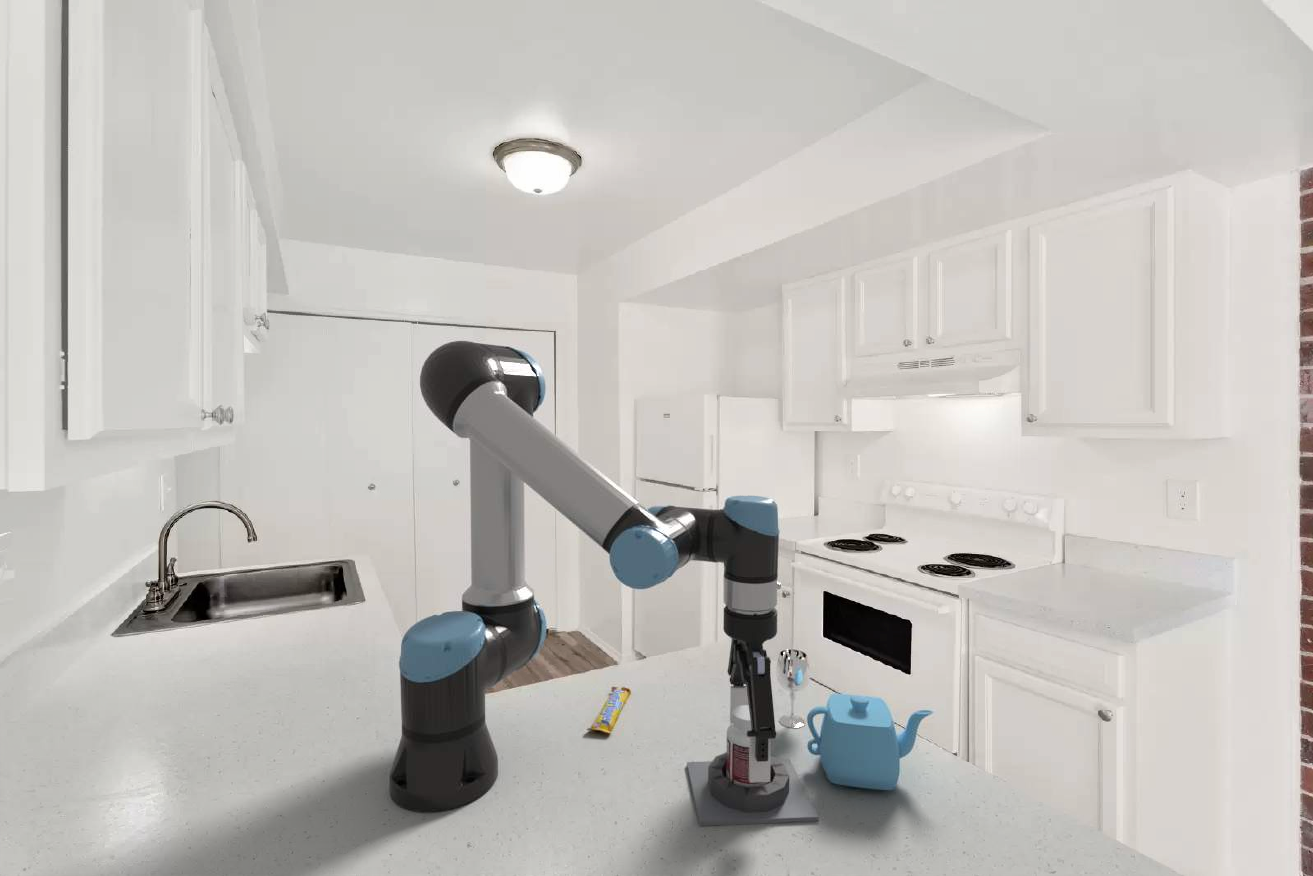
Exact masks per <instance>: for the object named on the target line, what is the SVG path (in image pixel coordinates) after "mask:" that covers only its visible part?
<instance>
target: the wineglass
mask: <svg viewBox="0 0 1313 876" xmlns="http://www.w3.org/2000/svg"><path fill="white" fill-rule="evenodd" d="M776 662H777V663H776V667H775V674H776V681H777V683H778V684H779V686H780V688H782V689H783V690H785V691H788V692H790V693H789V700H790V714H785V715H782V716H780V717H779V723H780V724H781V725H782V726H784V727H786V728H790V729H800V728H802V727H804V726H805V725H806V720H805V718H804V719H803V717H800V716H799V715H795V713H794V712H795V708H794V705H795V700H796V692H797V693H798V692H801V691H804V690H805V689H806V688H807V687H808V685H809V684H810V677H811V670H810V664H809V659H808V655H807V654H806V653H805V652H804V651H802V650H799V649H789V648H788V649H783V650H780V652H779V654H778V657H777V661H776Z"/></svg>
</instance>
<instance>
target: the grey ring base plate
mask: <svg viewBox="0 0 1313 876" xmlns="http://www.w3.org/2000/svg"><path fill="white" fill-rule="evenodd" d="M726 759H727V751H726V752H724V753H722V754H719V755H715V757H713V760H710V761H708V760H707V761H687V762H686V768H687V773H688V777H689V782H690V786H691V792H692V797H693V802H694V806H695V807H694V808H695V810H696V817H697V821H698V825H699V827H706V826H707V827H708V826H730V825H731V826H732V825H737V826H738V825H757V824H758V825H759V824H779V823H781V824H782V823H802V822H803V823H804V822H819V815H818V812H817V810H816V809H815V806H814V804H813V802H812V800H811V799H810V797H809V795H808V793H807V790H806V789H805V787H804V785H803V783H802V781H801V779H800V777H799V775H798V773H797V771H796V768H795V767H794V765H793V763H792V761H791V759H790V758H775V757H774V756H772V755H771V766H770V783H768V784H766V785H764V786H762V787H744V786H741V785H737V784H734V783H732V782H731V781H729V780H728V779H727V778H726V761H727V760H726Z"/></svg>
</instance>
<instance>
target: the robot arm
mask: <svg viewBox="0 0 1313 876" xmlns="http://www.w3.org/2000/svg"><path fill="white" fill-rule="evenodd" d="M419 387H420V388H419V389H420V392H421V396H422V398H423V401H424V403H425V404H426V406H427V407H428V409H429V410H430V411H431V413H432V414H433V415H434V416H435V417H436V418H437V419H438V421H440V422H441V423H442V424H443V425H444V426H446V427H447V429H449V430H450V431H451V432H452V433H453V434H455V435H456V436H457V437H459V438H461V439H469V459H470V461H469V465H470V466H469V469H470V471H469V473H470V475H469V476H470V478H469V479H470V482H469V483H470V486H469V487H470V563H471V564H470V568H471V573H470V574H471V585H470V586H469V587H468V588H467V589H466V590H465V591H464V592H463V593H462V595H461V610H456V611H455V610H452V611H444V612H442V613H441V614H432V615H431V616H428V617H425V618H423V619H421V620H419V621H417V622H416V623H415V624H413V625H412V626H410V627H409V629H408V630H406V632H405V634H404V635H403V637H402V639H401V643H400V655H399V662H398V667H399V668H398V669H399V677H400V678H399V679H400V707H401V709H400V710H401V711H400V712H401V737H400V740H399V743H398V747H397V749H396V753H395V756H394V760H393V762H392V764H391V769H390V772H389V778H388V779H389V795H390V798H391V799H392V801H393V802H395V804H396V805H398V806H399V807H400V808H401V807H402V808H403V809H407V810H411V811H415V812H441V811H446V810H451V809H454V808H455V809H456V808H458V807H461V806H464V805H466V804H469V803H471V802H473V801H475V800H477V799H478V798H480V797H482V796H483V795H484V794H486V793H487V792H488V791H489V790H490V789H491V788H492V787H493V786H494V785H495V782H496V781H497V779H498V775H499V761H498V753H497V750H496V747H495V745H494V741H493V740H492V737H491V734H490V731H489V729H488V726H487V722H486V693H487V691H488V690H489V689H491V688H492V687H494V686H495V685H496V684H498V683H499V682H501V681H502V680H504V679H506V677H508V676H509V675H511V674H513V672H517V671H518V670H520V669H522V668H523V667H524V666H525V667H526V665H527V664H528V663H530V661H531V660H532V659H533V658H534V657H535V656H536V655H537V654H538V653H539V651H541V649H542V647H543V645H544V642H545V639H546V636H547V629H548V628H547V626H548V625H547V619H546V615H545V612H544V609H543V608H541V607H539V602H538V601H537V600H536V599H535V590H534V589H533V588H532V587H531V586H530V585H529V584H528V583H527V582H526V580H525V579H526V577H525V574H526V573H525V569H526V568H525V564H526V563H525V561H526V559H525V553H526V552H525V484H526V485H527V486H528V487H529V488H531V489H532V490H533V491H534V492H535V493H536V494H538V495H539V497H541V498H543V499H544V501H546V502H548V504H549V505H551V506H552V507H553V508H554V509H555V510H557V511H558V512H559V513H560V514H561V515H562V516H563V517H565V518H566V519H568V521H570V522H571V523H572V524H573V525H574V526H576V527H577V528H578V529H580V530H581V532H583V533H584V534H585V535H586V536H588V537H589V539H591V540H592V541H593V542H595V543H596V544H597V545H599V547H600V548H602V549H603V550H604V551H605V552H606V553H607V554H608V555H609V564H610V567H611V569H612V572H613V574H614V576H615V577H616V579H618V581H619V582H621V584H623V585H625V586H626V587H629V588H630V589H635V590H648V589H650V588H652V587H655V586H657V585H660V584H661V583H664V582H666V580H668V579H669V578H671V577H672V576H673V575H674V574H675V573H676V572H677V571H678V570H679V569H681V568H682V567H684V566H685V565H687V564H688V563H689V562H691V561H697V562H709V563H722V564H723V569H724V570H723V598H722V600H723V603H724V605H725V606H724V608H723V632H724V633H725V635H726V636H728V637H729V638H731V641H730V644H731V645H730V649H729V650H730V651H729V659H728V665H727V666H728V667H727V674H728V676H729V682H730V685H732V686H730V689H729V690H730V693H729V694H730V696H729V698H730V699H729V701H730V703H729V705H730V706H729V707H730V710H729V711H730V712H729V725H730V724H732V723H733V722H732V711H733V709H734V708H735V707H738V706H742V705H749V712H750V720H751V729H752V730H751V731H747V733H746V734H747V737H749V781H750V783H753V782H770V766H771V756H772V755H771V754H772V753H771V751H772V749H771V748H772V746H771V745H772V743H771V742H772V739H776V738H777V731H776V725H775V724H776V721H775V720H776V719H775V712H774V711H775V709H774V699H773V690H772V678H771V664H772V661H771V657H770V656H768V655H767V651H766V649H764V646H763V645H764V643H765V642H767V641H769V640H772V639H774V638H775V637H776V635H777V632H778V610H777V609H776V608H775V607H777V605H778V590H781V589H782V583H781V582H778V576H779V575H778V574H779V573H778V569H779V568H778V567H779V538H780V529H779V517H778V516H779V515H778V513H779V512H778V510H779V509H778V505H777V503H776V501H775V500H773V499H772V498H769V497H767V496H759V495H734V496H733V495H732V496H730V497H727V498H726V499H725V501H724V506H723V508H720V509H711V508H694V507H683V506H675V505H670V504H669V505H667V506H665V505H663V506H662V505H661V506H660V505H659V506H658V505H657V506H656V505H653V506H651V507H648V509H647V508H646V507H645V506H643V505H642V504H640V502H638V501H637V500H636V499H634V498H633V497H632V496H631V495H630V494H628V492H626V491H625V490H624V489H622V488H621V487H620V486H619V485H617V484H616V483H615V482H614V481H613V480H611V479H610V478H609V477H607V476H606V475H605V474H604V473H603V472H601V471H600V470H599V469H598V468H596V467H595V466H594V465H593V464H592V463H591V462H589V461H587V459H586V458H584V457H583V456H582V455H580V454H579V453H578V452H577V451H576V450H574V449H573V448H572V447H571V446H569V445H568V444H566V443H565V442H564V441H563V440H561V438H559V437H558V436H556V435H555V434H554V433H553V432H552V431H551V430H549V429H548V428H546V426H544V424H542V423H540V422H539V421H538V420H537V419H536V418H534V413H535V412H537V410H539V408H540V406H542V404H543V402H544V399H545V395H546V389H547V388H546V387H547V386H546V378H545V376H544V373H543V371H542V369H541V367H540V364H538V362H537V361H536V360H535V359H534V358H533V357H532V356H531V355H530V354H528V353H526V352H525V351H523V350H521V349H520V350H519V349H515V348H514V347H512V346H504V345H495V344H488V343H479V342H473V341H468V340H455V341H450V342H447V343H444V344H442V345H440V346H439V347H437V348H436V349H435V350H433V351H432V352H431V353H430V354H429V355H428V357H426V359H425V361H424V363H423V365H422V366H421V371H420V376H419Z"/></svg>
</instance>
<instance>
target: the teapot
mask: <svg viewBox="0 0 1313 876" xmlns="http://www.w3.org/2000/svg"><path fill="white" fill-rule="evenodd" d="M933 713H934V711H933V710H929V709H921V710H915V712H913V713H912V714H911V715H910V716H909V718H908V721H907V722H906V723H907V724H906V727H905V729H904V730H903V731H901V733H897V731H896V726H895V723H894V719H893V716H892V713H891V711H890V708H889V706H888V705H887V703H886V702H885V700H883V699H882V698H881V697H875V696H866V695H860V694H859V695H858V694H857V695H856V694H848V693H846V694H845V693H832V694H830V695H829V696H828V699H827V703H826V706H822V705H820V706H816V707H815V706H814V707H813V708H812V709H811V710H810V711H808V714H807V717H806V722H807V726H808V729H809V732H810V733H811V736H812V737H813V738H812V739H810V740H808V742H807V745H806V747H807V750H808V752H809V753H810V754H811V755H814V756H819V757H820V761H821V764H822V767H823V770H824V772H825V776H826V777H827V780H829V782H830V783H833V784H835V785H840V786H846V787H853V788H859V789H860V788H861V789H868V790H879V791H880V790H881V791H893V790H894V789H895V788H896V786H897V784H898V781H899V776H900V772H901V771H900V770H901V769H900V767H901V765H900V763H901V762H900V759H902V758H904V757H906V756H907V755H909V754H910V753H911V751H912V750H913V748H914V746H915V743H916V739H917V734H918V729H919V726H920V724H921V722H922V721H923V720H924V719H925V718H926V717H929V716H930V715H932V714H933ZM820 714H822V715H823V718H822V721H821V727H820V732H819V733H818V731H817V729H816V727H815V724H814V717H816V716H817V715H820ZM813 745H816V746H817V747H813Z"/></svg>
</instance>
